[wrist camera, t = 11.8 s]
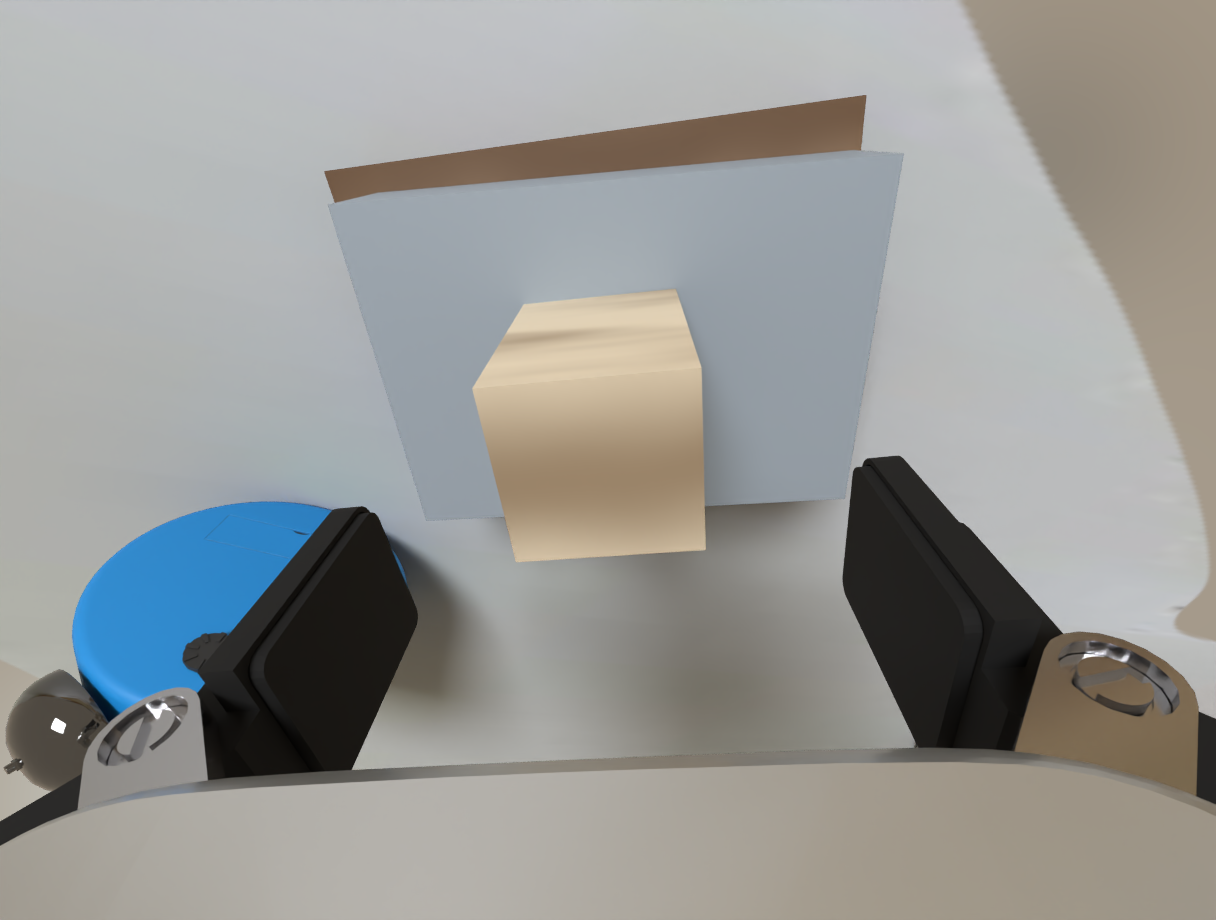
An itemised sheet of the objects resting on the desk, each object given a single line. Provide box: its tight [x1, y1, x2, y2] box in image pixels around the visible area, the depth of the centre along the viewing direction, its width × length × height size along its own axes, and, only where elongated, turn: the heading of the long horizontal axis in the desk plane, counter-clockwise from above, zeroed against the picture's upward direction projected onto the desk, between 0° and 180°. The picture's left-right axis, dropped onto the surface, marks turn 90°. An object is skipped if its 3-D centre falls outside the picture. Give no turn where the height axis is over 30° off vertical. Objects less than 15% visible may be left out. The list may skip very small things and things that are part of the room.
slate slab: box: [328, 150, 904, 521], centre depth 21 cm, size 12×17×4 cm
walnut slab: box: [324, 95, 866, 203], centre depth 24 cm, size 14×19×4 cm
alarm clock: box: [4, 502, 407, 791], centre depth 26 cm, size 13×6×15 cm, turn 70°
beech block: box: [472, 289, 706, 562], centre depth 16 cm, size 5×5×7 cm
